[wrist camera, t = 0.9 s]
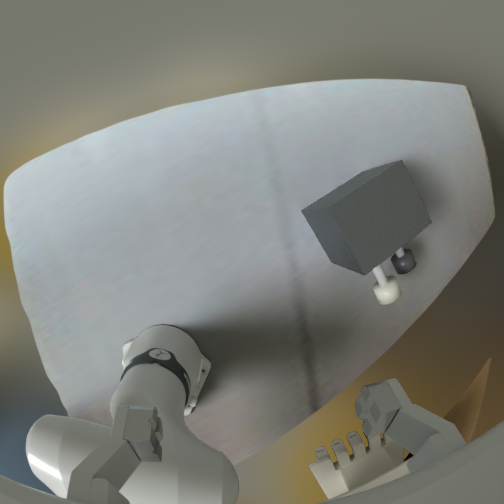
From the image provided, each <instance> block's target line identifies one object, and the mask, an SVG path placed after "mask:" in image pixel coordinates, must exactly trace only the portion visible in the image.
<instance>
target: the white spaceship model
mask: <svg viewBox="0 0 504 504" xmlns="http://www.w3.org/2000/svg"><path fill="white" fill-rule="evenodd" d="M363 433H364V435H365V436H366V438H367V440H368V445H369V446H368V447H366V448H365V445H364V443H363V441H362V440H361V438H360V437H359V435H358V433H357V432H356V431H352V432H350V433H349V434H348V435H347V438H348V442H349V444H350V445H351V447H352V450H353V454H352V455H350V456H349V454H348V452H347V450H346V448H345V446H344V444H343V442H342V440H341V439H335V440H333V441H332V442H331V446H332V449H333V451H334V453H335V455H336V457H337V460H338V461H337V462H335V463H332V461H331V459H330V456H329V455H328V452H327V450H326V448H325V447H324V446H320V447H318V448H316V450H315V452H316V455H317V457H318V459H319V460H318V461H316V462H314V463H311V464H310V465H309V467H310V469H311V471H312V473H313V474H314V476H315V478H316V479H317V481H318V483H319V484H320V486H321V488H322V489H323V491H324V493H325V494H326V496H327V497H328V499H329V500H327V501H330V500H334V499H338V498H342V497H345V496H349V495H352V494H356V493H359V492H362V491H365V490H368V489H371V488H374V487H377V486H380V485H382V484H385V483H388V482H390V481H393V480H395V479H398V478H400V477H403V476H405V475H408V474H410V472H409V470H408V467H407V463H408V461H409V460H410V459H411V458H412V457H411V458H410V459H408V460H407V461H405V462H404V448H403V447H402V446H401V445H399V444H398V443H396V442H395V441H394V440H392V439H391V438H390V437H388V436H387V435H386V434H385V433H383V438H382V439H380V435H375V436H372V437H367V435H366V433H365V431H364V429H363ZM325 502H326V501H325Z"/></svg>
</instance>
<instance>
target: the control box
mask: <svg viewBox="0 0 504 504" xmlns="http://www.w3.org/2000/svg"><path fill="white" fill-rule="evenodd" d="M302 213H303V215H304V216H305V218H306V220H307V221H308V223H309V225H310V226H311V228H312V230H313V231H314V233H315V235H316V237H317V238H318V240H319V242H320V243H321V245H322V247H323V249H324V250H325V252H326V254H327V256H328V257H329V259H330V261H331V262H332V263H334V264H337V265H339V266H342V267H344V268H347V269H349V270H352V271H355V272H357V273H360V274H362V275H366V274H367V273H369V272H370V271H371V270H373V269H374V268H375V267H377V266H378V265H379V264H381V263H382V262H383V261H385V260H386V259H387V258H388V257H390V256H391V255H392V254H394V253H395V252H396V251H397V250H399V249H400V248H401V247H402V246H404V245H405V244H406V243H408V242H409V241H410V240H411V239H412V238H414V237H415V236H416V235H417V234H419V233H420V232H421V231H422V230H423V229H425V228H426V227H427V226H428V225H429V224H431V223H432V222H431V220H430V217H429V215H428V213H427V210H426V208H425V206H424V204H423V201H422V199H421V197H420V195H419V193H418V191H417V189H416V187H415V184H414V182H413V180H412V178H411V176H410V174H409V172H408V171H407V169H406V167H405V165H404V163H403V161H402V160H399V161H395V162H392V163H389V164H386V165H383V166H379V167H376V168H373V169H370V170H367V171H364V172H362V173H360V174H358V175H357V176H355V177H354V178H352V179H350V180H349V181H347V182H346V183H344V184H343V185H341V186H339V187H338V188H336V189H335V190H333V191H331V192H330V193H328V194H327V195H325V196H324V197H322V198H320V199H319V200H317V201H316V202H314V203H313V204H311V205H309V206H308V207H306V208H305V209H303V210H302Z"/></svg>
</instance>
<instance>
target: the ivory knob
mask: <svg viewBox="0 0 504 504" xmlns="http://www.w3.org/2000/svg"><path fill="white" fill-rule="evenodd" d="M372 271H373V273H374V275H375V277H376V279H377V282H376V283H375V284H374V286H373V290H374V292H375V295H376V297H377V299H378V301H379V303H380V304H382V305H387V304H390V303H392V302H394V301H396V300H397V299H398V298H399V297H400V296H401V294H402V291H401V289H400V286H399V284H398V282H397V280H396V277H395V276H386V274H385V272H384V270H383V268H382V266H381V264H379V265H378V266H377V267H375V268H374V269H373V270H372Z"/></svg>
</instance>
